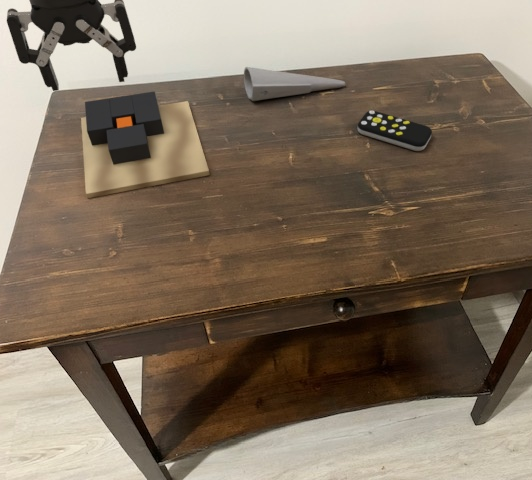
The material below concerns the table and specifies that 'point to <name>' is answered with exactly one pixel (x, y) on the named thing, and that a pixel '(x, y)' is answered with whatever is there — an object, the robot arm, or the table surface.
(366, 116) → the remote control
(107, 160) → the board
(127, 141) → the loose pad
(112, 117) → the dark grey u-shaped block
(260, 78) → the long tapered cone
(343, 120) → the table surface
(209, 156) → the table surface
